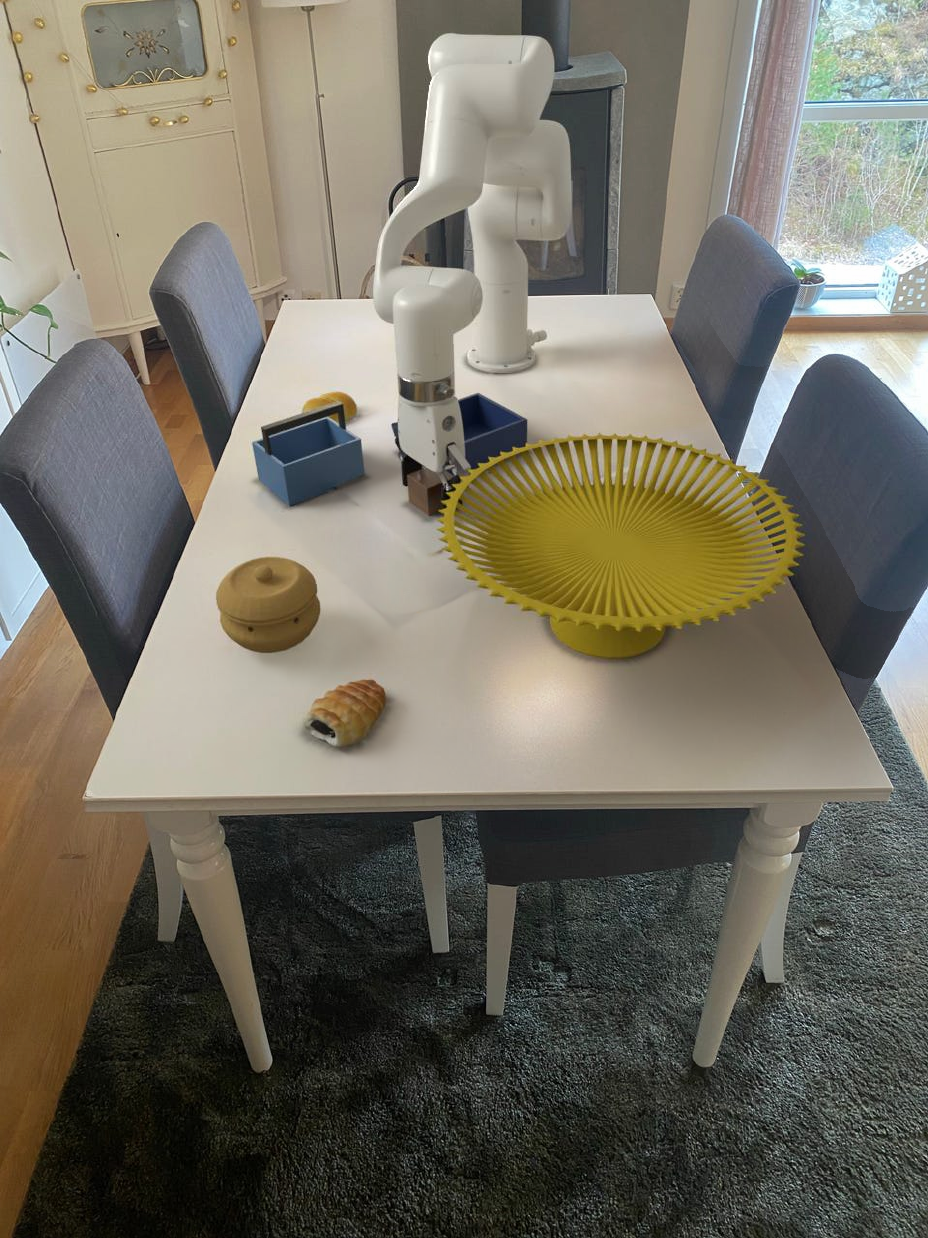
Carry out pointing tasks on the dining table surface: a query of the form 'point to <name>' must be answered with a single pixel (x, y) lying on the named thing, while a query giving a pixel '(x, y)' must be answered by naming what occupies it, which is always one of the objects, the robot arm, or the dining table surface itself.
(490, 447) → the lower bin
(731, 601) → the yellow fruit bowl
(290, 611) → the pot
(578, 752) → the dining table surface
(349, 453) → the upper bin
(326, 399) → the bread roll
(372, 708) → the pastry
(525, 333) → the robot arm
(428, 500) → the block
